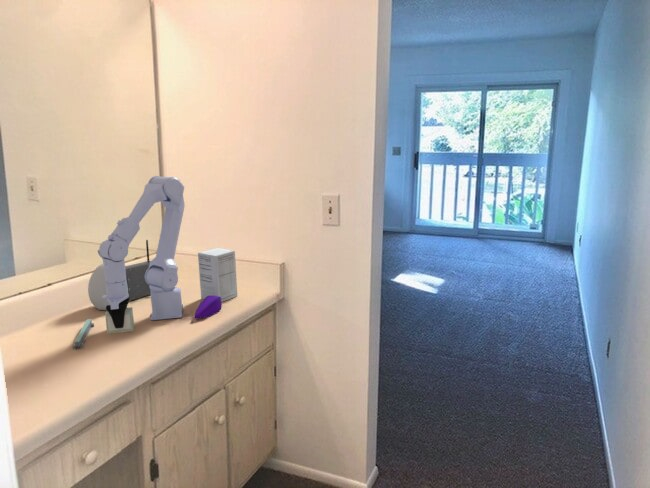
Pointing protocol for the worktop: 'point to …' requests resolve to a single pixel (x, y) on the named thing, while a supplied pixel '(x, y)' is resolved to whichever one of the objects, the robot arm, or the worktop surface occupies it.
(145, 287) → the electronic device
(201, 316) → the crystal
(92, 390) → the worktop surface
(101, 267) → the decorative egg
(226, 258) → the supplement box
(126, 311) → the soap box
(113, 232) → the robot arm
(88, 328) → the rail
